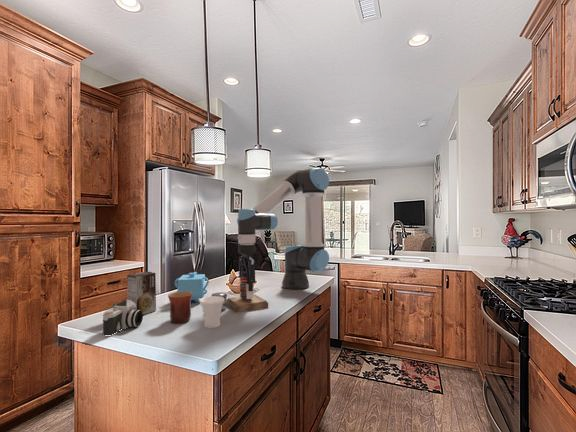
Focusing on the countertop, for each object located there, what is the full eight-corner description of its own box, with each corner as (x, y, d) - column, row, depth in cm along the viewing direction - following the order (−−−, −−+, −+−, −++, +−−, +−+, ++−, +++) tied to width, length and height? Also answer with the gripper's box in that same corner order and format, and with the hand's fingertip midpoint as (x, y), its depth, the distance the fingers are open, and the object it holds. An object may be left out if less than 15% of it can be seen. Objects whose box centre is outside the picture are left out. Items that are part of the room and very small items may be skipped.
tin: (224, 306, 136) (224, 291, 136) (229, 310, 131) (229, 295, 131) (209, 309, 133) (209, 293, 133) (214, 313, 128) (213, 296, 128)
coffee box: (146, 308, 134) (146, 271, 134) (156, 310, 131) (156, 272, 131) (126, 314, 126) (126, 274, 126) (136, 317, 123) (136, 276, 123)
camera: (123, 338, 102) (123, 307, 102) (98, 337, 102) (97, 307, 102) (148, 321, 118) (148, 295, 118) (125, 321, 118) (125, 295, 118)
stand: (255, 300, 146) (255, 294, 146) (268, 308, 134) (268, 301, 134) (226, 304, 140) (226, 297, 140) (237, 313, 127) (237, 305, 127)
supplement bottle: (238, 299, 134) (238, 272, 134) (240, 295, 140) (240, 270, 140) (252, 299, 134) (252, 272, 134) (254, 295, 140) (254, 270, 140)
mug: (193, 323, 115) (193, 295, 115) (168, 326, 112) (168, 298, 112) (190, 314, 126) (190, 288, 126) (167, 316, 123) (167, 290, 123)
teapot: (207, 303, 142) (207, 274, 142) (171, 304, 140) (171, 275, 140) (211, 293, 160) (211, 268, 160) (179, 294, 158) (179, 269, 158)
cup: (202, 321, 117) (202, 295, 117) (227, 322, 117) (227, 295, 117) (194, 330, 108) (194, 301, 108) (221, 330, 108) (221, 301, 108)
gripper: (231, 242, 143) (231, 293, 143) (246, 246, 127) (246, 303, 127) (246, 242, 147) (247, 291, 147) (263, 245, 130) (263, 300, 130)
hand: (246, 296), depth 137 cm, fingers closed on supplement bottle, 6 cm apart
